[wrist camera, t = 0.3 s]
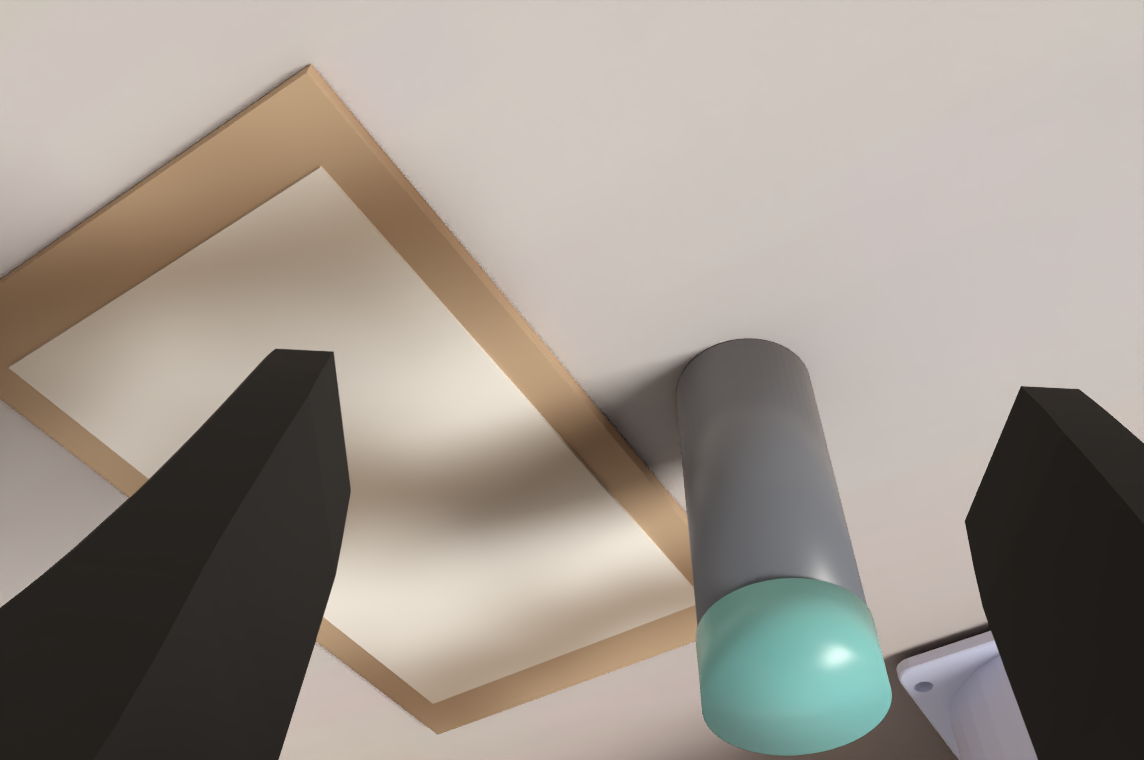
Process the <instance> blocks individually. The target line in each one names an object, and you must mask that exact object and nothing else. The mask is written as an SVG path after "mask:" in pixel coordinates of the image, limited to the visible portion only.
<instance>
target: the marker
mask: <svg viewBox="0 0 1144 760" xmlns="http://www.w3.org/2000/svg"><path fill="white" fill-rule="evenodd" d="M676 401H677V412H678V423H679V434H680V445H681V455H682V466H683V477H684V488H685V498H686V509H687V520H688V531H689V542H690V552H691V563H692V574H693V585H694V596H695V606H696V617H697V631H696V648H697V659H698V670H699V681H700V692H701V703H702V714H703V717H704V720H705V722H706V724H707V725H708V727H709V728H710V729H711V730H712V732H713V733H715V734H716V735H717V736H718V737H719V738H721V739H722V740H724V741H726V742H727V743H729V744H731V745H733V746H736V747H738V748H741V749H744V750H748V751H752V752H756V753H761V754H769V755H786V756H790V755H804V754H813V753H818V752H823V751H827V750H831V749H835V748H838V747H840V746H843V745H846V744H848V743H850V742H853V741H855V740H857V739H859V738H860V737H862V736H864V735H865V734H867V733H868V732H870V731H871V730H872V729H874V728H875V727H876V726H877V725H878V724H879V723H880V722H881V721H882V720H883V718H884V717H885V715H886V714H887V712H888V710H889V708H890V705H891V700H892V693H891V687H890V683H889V679H888V675H887V671H886V667H885V663H884V659H883V655H882V651H881V647H880V643H879V639H878V635H877V631H876V628H875V624H874V620H873V617H872V614H871V611H870V610H869V608H868V606H867V604H866V600H865V596H864V592H863V588H862V584H861V580H860V576H859V572H858V568H857V564H856V560H855V556H854V552H853V548H852V544H851V540H850V536H849V532H848V528H847V524H846V520H845V516H844V512H843V508H842V504H841V500H840V496H839V492H838V488H837V484H836V480H835V476H834V472H833V468H832V464H831V460H830V456H829V452H828V448H827V444H826V440H825V436H824V432H823V428H822V424H821V420H820V416H819V412H818V408H817V404H816V400H815V396H814V392H813V388H812V384H811V380H810V376H809V373H808V370H807V368H806V366H805V364H804V363H803V362H802V360H801V359H800V358H799V357H798V356H797V355H796V354H795V353H793V352H792V351H791V350H789V349H788V348H786V347H784V346H782V345H779V344H777V343H774V342H770V341H766V340H760V339H738V340H732V341H727V342H724V343H721V344H718V345H716V346H713V347H711V348H709V349H707V350H705V351H703V352H702V353H701V354H699V355H698V356H696V357H695V358H694V359H693V360H692V361H691V362H690V363H689V364H688V365H687V366H686V368H685V369H684V371H683V372H682V374H681V376H680V378H679V380H678V384H677V388H676Z"/></svg>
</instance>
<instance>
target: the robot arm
mask: <svg viewBox="0 0 1144 760" xmlns="http://www.w3.org/2000/svg"><path fill="white" fill-rule="evenodd" d="M350 494H351V487H350V479H349V471H348V463H347V455H346V447H345V439H344V431H343V423H342V415H341V407H340V399H339V391H338V383H337V375H336V366H335V358H334V352H333V351H314V350H294V349H274V350H273V351H272V352H271V353H270V354H268V355H267V356H266V357H265V358H264V359H263V360H262V361H261V363H260V364H259V365H258V366H257V367H256V368H255V369H254V370H253V371H252V372H251V373H250V374H249V375H248V377H247V378H246V379H245V380H244V381H243V382H242V383H241V384H240V385H239V386H238V387H237V389H236V390H235V391H234V392H233V393H232V394H231V395H230V396H229V397H228V398H227V399H226V400H225V402H224V403H223V404H222V405H221V406H220V407H219V408H218V409H217V410H216V411H215V412H214V413H213V414H212V415H211V416H210V418H209V419H208V420H207V421H206V422H205V423H204V424H203V425H202V426H201V427H200V428H199V429H198V430H197V431H196V432H195V433H194V434H193V435H192V436H191V437H190V438H189V439H188V440H187V441H186V442H185V443H184V444H183V445H182V446H181V447H180V449H179V450H178V451H177V452H176V453H175V454H174V455H173V456H172V457H171V458H170V459H169V460H168V461H167V462H166V463H165V464H164V465H163V466H162V467H161V468H160V469H159V470H158V471H157V472H156V473H155V474H154V475H153V476H152V477H151V478H150V479H149V480H148V481H147V482H146V483H145V484H143V485H142V486H141V487H140V488H139V489H138V490H137V491H136V492H135V493H134V494H133V495H132V496H131V497H130V498H129V499H128V500H126V501H125V502H124V503H123V504H122V505H121V506H120V507H119V508H118V509H117V510H115V511H114V512H113V513H112V514H111V515H110V516H109V517H108V518H107V519H106V520H104V521H103V522H102V523H101V524H100V525H99V526H98V527H97V528H96V529H95V530H93V531H92V532H91V533H90V534H89V535H88V536H87V537H86V538H85V539H84V540H82V541H81V542H80V543H79V544H78V545H77V546H76V547H75V548H73V549H72V550H71V551H70V552H69V553H68V554H66V555H65V556H64V557H63V558H62V559H60V560H59V561H58V562H57V563H56V564H55V565H53V566H52V567H51V568H50V569H49V570H47V571H46V572H45V573H44V574H43V575H41V576H40V577H39V578H38V579H36V580H35V581H34V582H33V583H31V584H30V585H29V586H28V587H26V588H25V589H24V590H23V591H21V592H20V593H19V594H18V595H16V596H15V597H14V598H12V599H11V600H10V601H9V602H7V603H6V604H5V605H3V606H2V607H1V608H0V760H278V759H279V756H280V753H281V750H282V747H283V743H284V740H285V737H286V734H287V731H288V728H289V724H290V721H291V718H292V715H293V712H294V708H295V705H296V702H297V699H298V696H299V693H300V689H301V686H302V683H303V680H304V677H305V673H306V670H307V667H308V664H309V661H310V658H311V654H312V651H313V648H314V645H315V642H316V638H317V635H318V632H319V629H320V626H321V622H322V619H323V616H324V613H325V609H326V606H327V603H328V600H329V596H330V593H331V590H332V586H333V583H334V580H335V576H336V572H337V566H338V561H339V556H340V550H341V545H342V540H343V534H344V529H345V523H346V517H347V511H348V505H349V499H350ZM965 524H966V529H967V535H968V540H969V545H970V550H971V555H972V561H973V566H974V570H975V575H976V579H977V584H978V588H979V592H980V597H981V601H982V605H983V609H984V612H985V615H986V618H987V620H988V623H989V626H990V629H991V631H988V632H985V633H982V634H979V635H976V636H973V637H970V638H967V639H964V640H961V641H958V642H955V643H952V644H949V645H946V646H943V647H940V648H936V649H933V650H930V651H927V652H924V653H921V654H918V655H915V656H912V657H909V658H907V659H904V660H902V661H901V662H900V663H899V664H898V665H897V668H896V671H897V675H898V679H899V682H900V683H901V685H902V686H903V687H904V688H905V690H906V691H907V692H908V694H909V695H910V696H911V698H912V699H913V700H914V702H915V703H916V704H917V706H918V707H919V708H920V710H921V711H922V712H923V714H924V715H925V716H926V717H927V719H928V720H929V721H930V723H931V724H932V725H933V727H934V728H935V729H936V731H937V732H938V733H939V735H940V736H941V737H942V739H943V740H944V741H945V743H946V744H947V745H948V746H949V748H950V749H951V750H952V752H953V753H954V754H955V756H956V757H957V758H958V760H1144V443H1143V442H1142V441H1140V440H1139V439H1138V438H1137V437H1136V436H1135V435H1133V434H1132V433H1131V432H1130V431H1129V430H1128V429H1127V428H1125V427H1124V426H1123V425H1122V424H1121V423H1120V422H1119V421H1117V420H1116V419H1115V418H1114V417H1113V416H1111V415H1110V414H1109V413H1108V412H1107V411H1106V410H1104V409H1103V408H1102V407H1101V406H1099V405H1098V404H1097V403H1096V402H1095V401H1093V400H1092V399H1091V398H1089V397H1088V396H1087V395H1086V394H1084V393H1083V392H1082V391H1080V390H1079V389H1063V388H1043V387H1024V386H1021V388H1020V390H1019V392H1018V395H1017V397H1016V400H1015V402H1014V404H1013V407H1012V409H1011V412H1010V414H1009V416H1008V419H1007V421H1006V424H1005V426H1004V428H1003V431H1002V433H1001V436H1000V438H999V440H998V443H997V445H996V448H995V450H994V452H993V455H992V457H991V460H990V462H989V464H988V467H987V469H986V472H985V474H984V476H983V479H982V481H981V484H980V486H979V488H978V491H977V493H976V496H975V498H974V500H973V503H972V505H971V508H970V510H969V512H968V515H967V517H966V520H965Z"/></svg>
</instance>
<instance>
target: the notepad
mask: <svg viewBox="0 0 1144 760" xmlns="http://www.w3.org/2000/svg"><path fill="white" fill-rule="evenodd" d="M274 349H294V350H314V351H333V352H334V358H335V366H336V375H337V383H338V391H339V399H340V407H341V415H342V423H343V431H344V439H345V447H346V455H347V463H348V471H349V479H350V487H351V494H350V499H349V505H348V511H347V517H346V523H345V529H344V534H343V540H342V545H341V550H340V556H339V561H338V566H337V572H336V576H335V580H334V583H333V586H332V590H331V593H330V596H329V600H328V603H327V606H326V609H325V613H324V616H323V619H322V622H321V626H320V629H319V632H318V635H317V638H316V641H317V642H318V643H319V644H320V645H322V646H323V647H324V648H326V649H327V650H328V651H330V652H331V653H332V654H333V655H335V656H336V657H337V658H339V659H340V660H341V661H343V662H344V663H345V664H346V665H348V666H349V667H350V668H352V669H353V670H354V671H356V672H357V673H358V674H359V675H361V676H362V677H363V678H365V679H366V680H367V681H369V682H370V683H371V684H372V685H374V686H375V687H376V688H378V689H379V690H380V691H382V692H383V693H384V694H385V695H387V696H388V697H389V698H391V699H392V700H393V701H395V702H396V703H397V704H399V705H400V706H401V707H402V708H404V709H405V710H406V711H408V712H409V713H410V714H412V715H413V716H414V717H415V718H417V719H418V720H419V721H421V722H422V723H423V724H425V725H426V726H427V727H428V728H430V729H431V730H432V731H434V732H435V733H436V734H441V733H444V732H446V731H449V730H452V729H455V728H457V727H460V726H463V725H466V724H468V723H471V722H474V721H477V720H479V719H482V718H485V717H488V716H491V715H493V714H496V713H499V712H502V711H504V710H507V709H510V708H513V707H515V706H518V705H521V704H524V703H526V702H529V701H532V700H535V699H537V698H540V697H543V696H546V695H548V694H551V693H554V692H557V691H559V690H562V689H565V688H568V687H570V686H573V685H576V684H579V683H581V682H584V681H587V680H590V679H592V678H595V677H598V676H601V675H604V674H606V673H609V672H612V671H615V670H617V669H620V668H623V667H626V666H628V665H631V664H634V663H637V662H639V661H642V660H645V659H648V658H650V657H653V656H656V655H659V654H661V653H664V652H667V651H670V650H672V649H675V648H678V647H681V646H683V645H686V644H689V643H692V642H694V641H696V631H697V617H696V606H695V596H694V585H693V574H692V563H691V552H690V542H689V531H688V520H687V514H686V513H685V512H684V510H683V509H682V508H681V507H680V506H679V504H678V503H677V502H676V501H675V500H674V498H673V497H672V496H671V495H670V494H669V492H668V491H667V490H666V489H665V488H664V486H663V485H662V484H661V483H660V482H659V480H658V479H657V478H656V477H655V476H654V474H653V473H652V472H651V471H650V470H649V468H648V467H647V466H646V465H645V464H644V462H643V461H642V460H641V459H640V458H639V456H638V455H637V454H636V453H635V452H634V450H633V449H632V448H631V447H630V446H629V444H628V443H627V442H626V441H625V440H624V438H623V437H622V436H621V435H620V434H619V432H618V431H617V430H616V429H615V428H614V426H613V425H612V424H611V423H610V422H609V420H608V419H607V418H606V417H605V416H604V414H603V413H602V412H601V411H600V410H599V408H598V407H597V406H596V405H595V404H594V402H593V401H592V400H591V399H590V398H589V396H588V395H587V394H586V393H585V392H584V390H583V389H582V388H581V387H580V386H579V384H578V383H577V382H576V381H575V380H574V378H573V377H572V376H571V375H570V374H569V372H568V371H567V370H566V369H565V368H564V366H563V365H562V364H561V363H560V362H559V360H558V359H557V358H556V357H555V356H554V354H553V353H552V352H551V351H550V350H549V348H548V347H547V346H546V345H545V344H544V342H543V341H542V340H541V339H540V338H539V336H538V335H537V334H536V333H535V332H534V330H533V329H532V328H531V327H530V326H529V324H528V323H527V322H526V321H525V320H524V318H523V317H522V316H521V315H520V314H519V312H518V311H517V310H516V309H515V308H514V306H513V305H512V304H511V303H510V302H509V300H508V299H507V298H506V297H505V296H504V295H503V293H502V292H501V291H500V290H499V289H498V287H497V286H496V285H495V284H494V283H493V281H492V280H491V279H490V278H489V277H488V275H487V274H486V273H485V272H484V271H483V269H482V268H481V267H480V266H479V265H478V263H477V262H476V261H475V260H474V259H473V257H472V256H471V255H470V254H469V253H468V251H467V250H466V249H465V248H464V247H463V245H462V244H461V243H460V242H459V241H458V239H457V238H456V237H455V236H454V235H453V233H452V232H451V231H450V230H449V229H448V227H447V226H446V225H445V224H444V223H443V221H442V220H441V219H440V218H439V217H438V215H437V214H436V213H435V212H434V211H433V209H432V208H431V207H430V206H429V205H428V203H427V202H426V201H425V200H424V199H423V197H422V196H421V195H420V194H419V193H418V191H417V190H416V189H415V188H414V187H413V185H412V184H411V183H410V182H409V181H408V179H407V178H406V177H405V176H404V175H403V173H402V172H401V171H400V170H399V169H398V167H397V166H396V165H395V164H394V163H393V161H392V160H391V159H390V158H389V157H388V155H387V154H386V153H385V152H384V151H383V149H382V148H381V147H380V146H379V145H378V143H377V142H376V141H375V140H374V139H373V137H372V136H371V135H370V134H369V133H368V131H367V130H366V129H365V128H364V127H363V125H362V124H361V123H360V122H359V121H358V119H357V118H356V117H355V116H354V115H353V113H352V112H351V111H350V110H349V109H348V107H347V106H346V105H345V104H344V103H343V101H342V100H341V99H340V98H339V97H338V95H337V94H336V93H335V92H334V91H333V89H332V88H331V87H330V86H329V85H328V83H327V82H326V81H325V80H324V79H323V77H322V76H321V75H320V74H319V73H318V71H317V70H316V69H315V68H314V67H313V65H312V64H310V65H309V66H307V67H306V68H304V69H303V70H301V71H300V72H298V73H297V74H296V75H294V76H293V77H291V78H290V79H288V80H287V81H286V82H284V83H283V84H281V85H280V86H278V87H277V88H275V89H274V90H273V91H271V92H270V93H268V94H267V95H265V96H264V97H262V98H261V99H260V100H258V101H257V102H255V103H254V104H252V105H251V106H249V107H248V108H247V109H245V110H244V111H242V112H241V113H239V114H238V115H236V116H235V117H234V118H232V119H231V120H229V121H228V122H226V123H225V124H223V125H222V126H221V127H219V128H218V129H216V130H215V131H213V132H212V133H210V134H209V135H208V136H206V137H205V138H203V139H202V140H200V141H199V142H197V143H196V144H195V145H193V146H192V147H190V148H189V149H187V150H186V151H185V152H183V153H182V154H180V155H179V156H177V157H176V158H174V159H173V160H172V161H170V162H169V163H167V164H166V165H164V166H163V167H161V168H160V169H159V170H157V171H156V172H154V173H153V174H151V175H150V176H148V177H147V178H146V179H144V180H143V181H141V182H140V183H138V184H137V185H135V186H134V187H133V188H131V189H130V190H128V191H127V192H125V193H124V194H122V195H121V196H120V197H118V198H117V199H115V200H114V201H112V202H111V203H109V204H108V205H107V206H105V207H104V208H102V209H101V210H99V211H98V212H96V213H95V214H94V215H92V216H91V217H89V218H88V219H86V220H85V221H84V222H82V223H81V224H79V225H78V226H76V227H75V228H73V229H72V230H71V231H69V232H68V233H66V234H65V235H63V236H62V237H60V238H59V239H58V240H56V241H55V242H53V243H52V244H50V245H49V246H47V247H46V248H45V249H43V250H42V251H40V252H39V253H37V254H36V255H34V256H33V257H32V258H30V259H29V260H27V261H26V262H24V263H23V264H21V265H20V266H19V267H17V268H16V269H14V270H13V271H11V272H10V273H8V274H7V275H6V276H4V277H3V278H1V279H0V399H2V400H3V401H4V402H6V403H7V404H8V405H9V406H11V407H12V408H13V409H15V410H16V411H17V412H19V413H20V414H21V415H22V416H24V417H25V418H26V419H28V420H29V421H30V422H32V423H33V424H34V425H35V426H37V427H38V428H39V429H41V430H42V431H43V432H45V433H46V434H47V435H49V436H50V437H51V438H52V439H54V440H55V441H56V442H58V443H59V444H60V445H62V446H63V447H64V448H65V449H67V450H68V451H69V452H71V453H72V454H73V455H75V456H76V457H77V458H78V459H80V460H81V461H82V462H84V463H85V464H86V465H88V466H89V467H90V468H91V469H93V470H94V471H95V472H97V473H98V474H99V475H101V476H102V477H103V478H104V479H106V480H107V481H108V482H110V483H111V484H112V485H114V486H115V487H116V488H117V489H119V490H120V491H121V492H123V493H124V494H125V495H127V496H128V497H129V498H130V497H131V496H132V495H133V494H134V493H135V492H136V491H137V490H138V489H139V488H140V487H141V486H142V485H143V484H145V483H146V482H147V481H148V480H149V479H150V478H151V477H152V476H153V475H154V474H155V473H156V472H157V471H158V470H159V469H160V468H161V467H162V466H163V465H164V464H165V463H166V462H167V461H168V460H169V459H170V458H171V457H172V456H173V455H174V454H175V453H176V452H177V451H178V450H179V449H180V447H181V446H182V445H183V444H184V443H185V442H186V441H187V440H188V439H189V438H190V437H191V436H192V435H193V434H194V433H195V432H196V431H197V430H198V429H199V428H200V427H201V426H202V425H203V424H204V423H205V422H206V421H207V420H208V419H209V418H210V416H211V415H212V414H213V413H214V412H215V411H216V410H217V409H218V408H219V407H220V406H221V405H222V404H223V403H224V402H225V400H226V399H227V398H228V397H229V396H230V395H231V394H232V393H233V392H234V391H235V390H236V389H237V387H238V386H239V385H240V384H241V383H242V382H243V381H244V380H245V379H246V378H247V377H248V375H249V374H250V373H251V372H252V371H253V370H254V369H255V368H256V367H257V366H258V365H259V364H260V363H261V361H262V360H263V359H264V358H265V357H266V356H267V355H268V354H270V353H271V352H272V351H273V350H274Z"/></svg>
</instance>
